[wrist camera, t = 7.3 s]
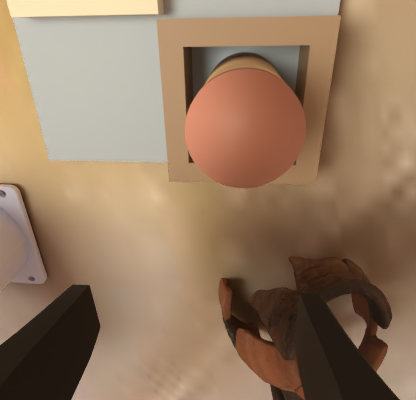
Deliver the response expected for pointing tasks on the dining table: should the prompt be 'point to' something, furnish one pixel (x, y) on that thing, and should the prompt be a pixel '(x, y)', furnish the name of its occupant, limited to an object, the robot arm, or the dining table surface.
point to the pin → (245, 123)
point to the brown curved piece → (287, 313)
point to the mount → (165, 71)
